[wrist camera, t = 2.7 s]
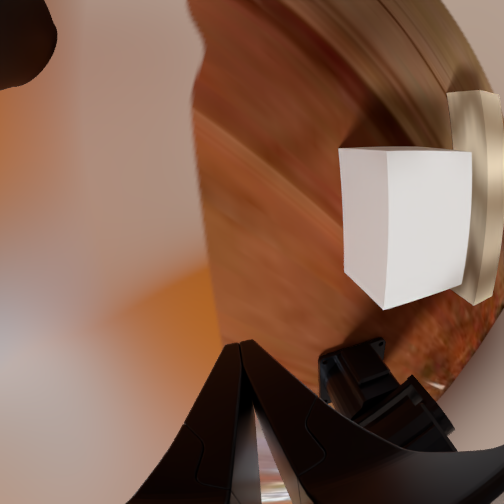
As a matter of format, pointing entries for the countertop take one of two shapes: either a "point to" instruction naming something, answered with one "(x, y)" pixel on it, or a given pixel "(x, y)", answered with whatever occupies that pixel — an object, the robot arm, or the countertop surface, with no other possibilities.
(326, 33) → the countertop surface
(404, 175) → the block
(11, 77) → the mug
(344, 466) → the robot arm
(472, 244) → the board
